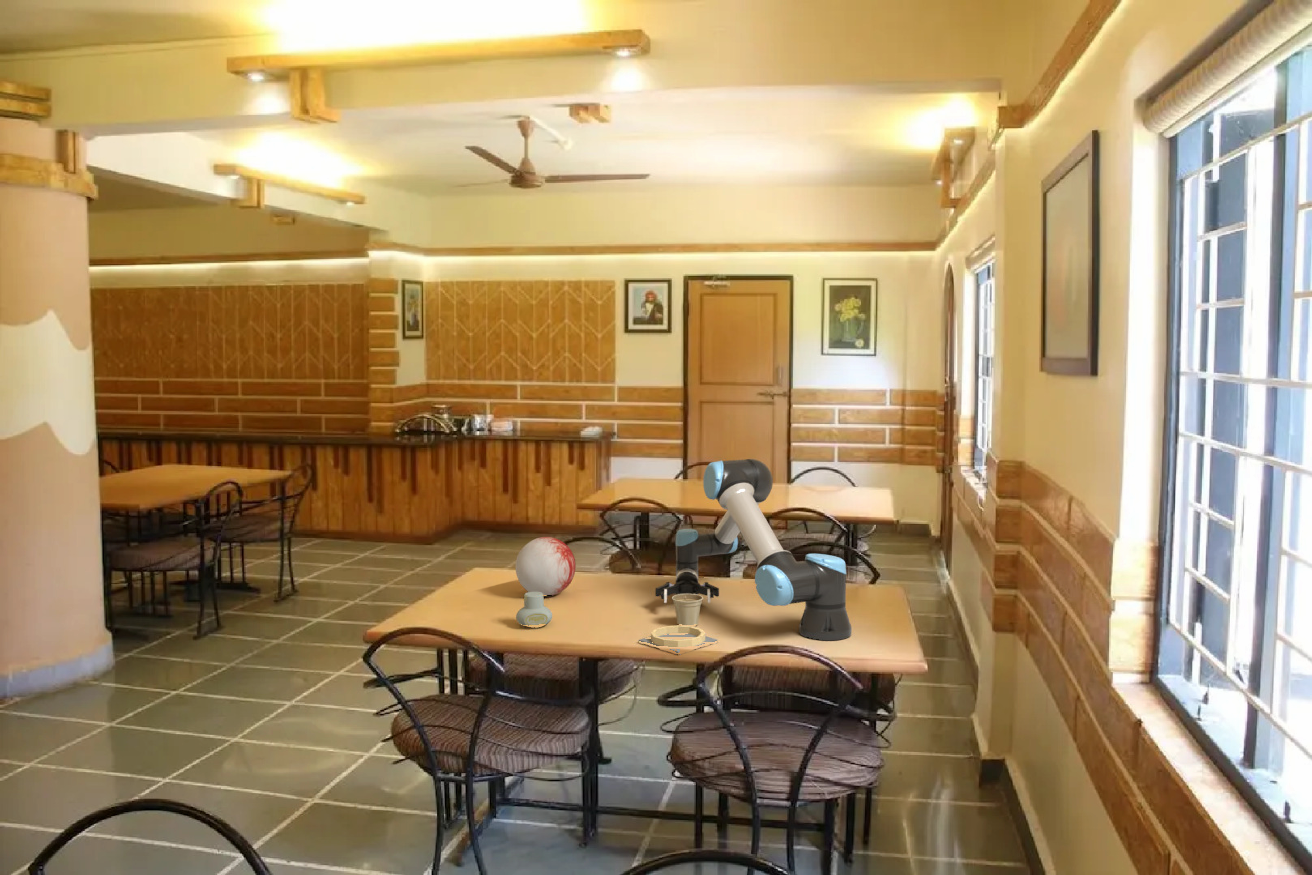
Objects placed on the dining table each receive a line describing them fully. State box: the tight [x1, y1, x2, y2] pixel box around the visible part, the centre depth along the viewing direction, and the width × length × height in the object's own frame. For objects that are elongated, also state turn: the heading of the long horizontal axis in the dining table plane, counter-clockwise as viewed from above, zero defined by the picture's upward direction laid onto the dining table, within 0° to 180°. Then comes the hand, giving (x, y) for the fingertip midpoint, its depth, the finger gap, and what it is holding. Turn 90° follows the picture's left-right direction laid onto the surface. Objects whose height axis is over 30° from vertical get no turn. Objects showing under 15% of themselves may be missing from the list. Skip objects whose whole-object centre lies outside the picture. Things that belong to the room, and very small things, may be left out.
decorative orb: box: [515, 536, 577, 596], centre depth 351 cm, size 21×20×20 cm
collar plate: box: [638, 625, 718, 653], centre depth 296 cm, size 16×16×3 cm
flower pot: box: [671, 594, 704, 625], centre depth 314 cm, size 9×9×9 cm
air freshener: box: [515, 591, 553, 626], centre depth 315 cm, size 11×8×10 cm
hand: (687, 598), depth 323 cm, fingers open, 13 cm apart
